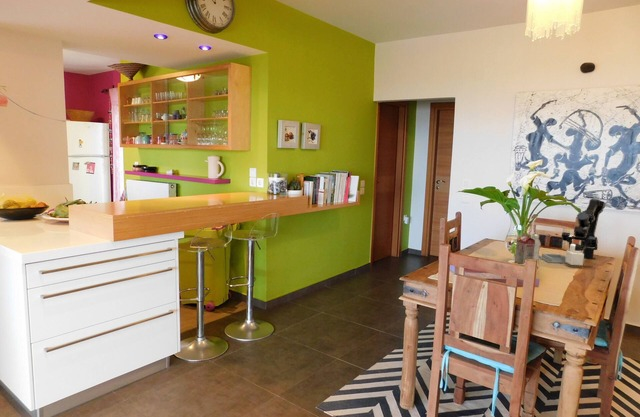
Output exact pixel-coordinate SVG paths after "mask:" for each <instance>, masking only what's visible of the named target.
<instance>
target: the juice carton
mask: <svg viewBox="0 0 640 417" xmlns="http://www.w3.org/2000/svg"><path fill="white" fill-rule="evenodd" d="M515 245H516V246H515V255H514V256H515V257H514V263H518V264H524V263H525V260H526V259H533V256H534V247H535V240H534V239H532V235H531V234H528V233H527V232H526V233H525V232H522V233H521V235H520V236H519V237H517V238H516V244H515Z"/></svg>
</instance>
